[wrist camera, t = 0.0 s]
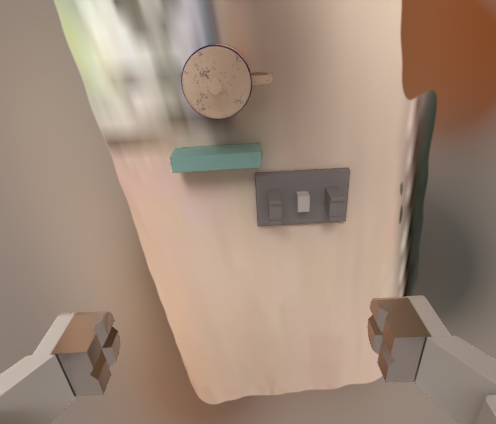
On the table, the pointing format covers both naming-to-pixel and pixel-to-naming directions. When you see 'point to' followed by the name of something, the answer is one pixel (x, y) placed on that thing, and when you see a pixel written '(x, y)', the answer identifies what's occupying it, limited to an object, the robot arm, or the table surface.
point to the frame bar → (216, 157)
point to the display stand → (302, 196)
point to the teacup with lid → (219, 81)
